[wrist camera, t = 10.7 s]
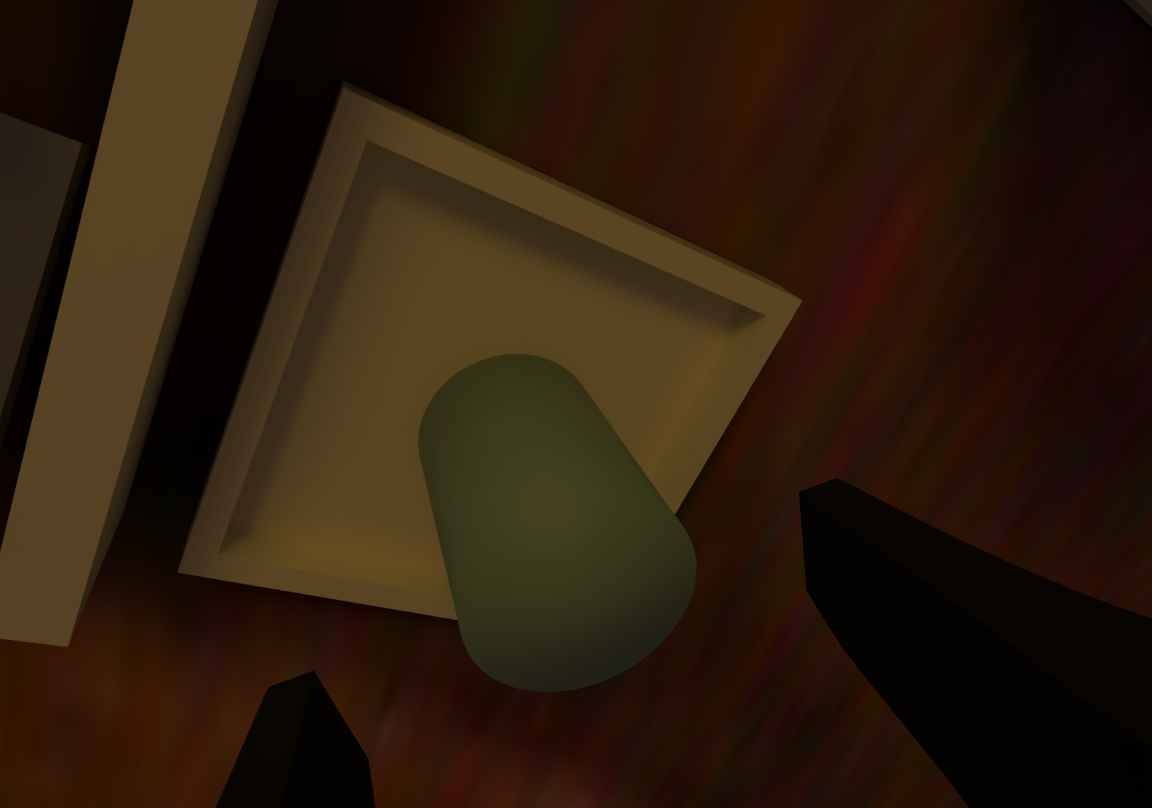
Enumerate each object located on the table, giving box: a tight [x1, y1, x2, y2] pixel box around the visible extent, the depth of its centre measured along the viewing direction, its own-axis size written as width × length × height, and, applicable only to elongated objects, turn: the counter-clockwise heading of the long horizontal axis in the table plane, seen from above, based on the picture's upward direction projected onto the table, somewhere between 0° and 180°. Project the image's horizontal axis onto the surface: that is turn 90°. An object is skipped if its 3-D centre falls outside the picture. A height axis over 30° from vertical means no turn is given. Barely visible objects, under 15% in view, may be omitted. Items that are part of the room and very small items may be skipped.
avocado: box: [418, 354, 696, 692], centre depth 14 cm, size 4×4×6 cm
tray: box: [178, 80, 802, 620], centre depth 16 cm, size 10×10×1 cm
